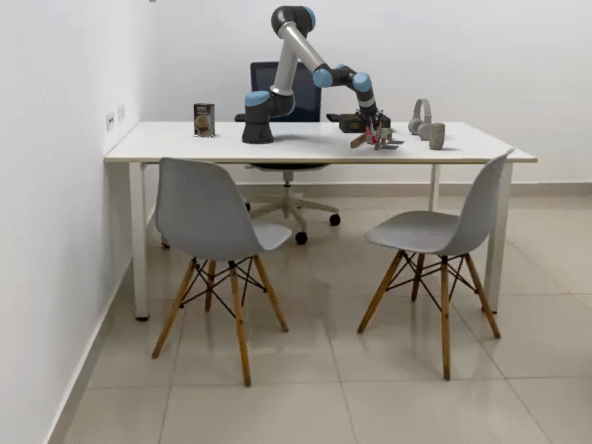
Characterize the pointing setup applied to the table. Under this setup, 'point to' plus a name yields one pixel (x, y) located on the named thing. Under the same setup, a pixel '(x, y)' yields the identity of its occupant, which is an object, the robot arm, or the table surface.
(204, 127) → the coffee box
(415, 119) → the headphones
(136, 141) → the table surface
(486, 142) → the table surface
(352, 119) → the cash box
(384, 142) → the brown and grey pieces
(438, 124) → the carved cylinder
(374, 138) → the soda can
